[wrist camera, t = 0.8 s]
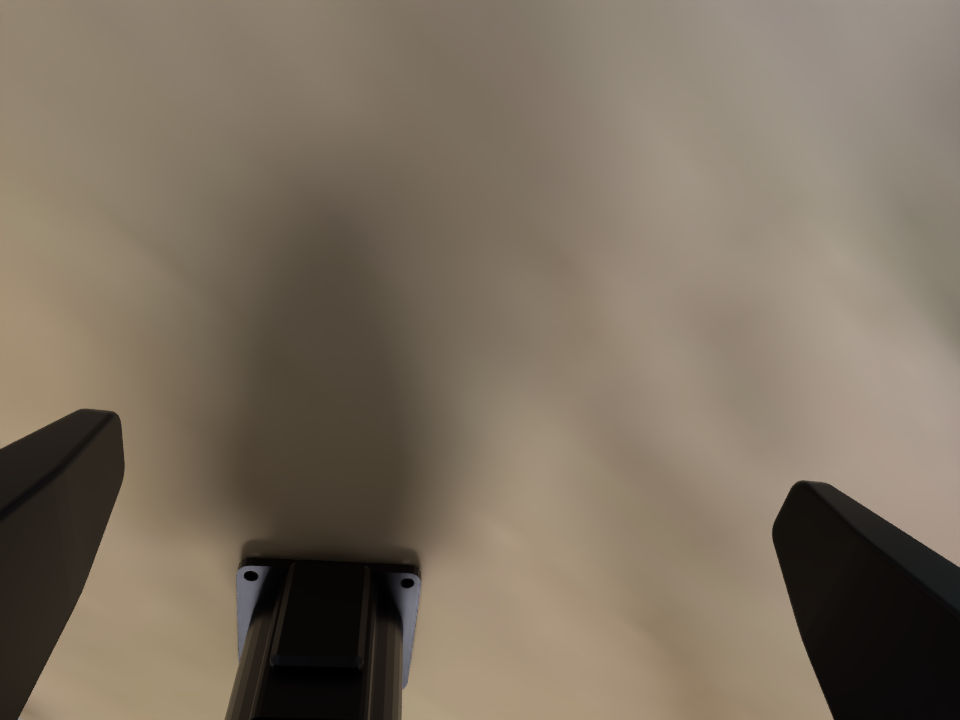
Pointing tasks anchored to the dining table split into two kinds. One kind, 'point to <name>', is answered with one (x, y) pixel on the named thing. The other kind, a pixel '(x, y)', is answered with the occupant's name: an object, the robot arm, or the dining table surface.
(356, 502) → the dining table surface
